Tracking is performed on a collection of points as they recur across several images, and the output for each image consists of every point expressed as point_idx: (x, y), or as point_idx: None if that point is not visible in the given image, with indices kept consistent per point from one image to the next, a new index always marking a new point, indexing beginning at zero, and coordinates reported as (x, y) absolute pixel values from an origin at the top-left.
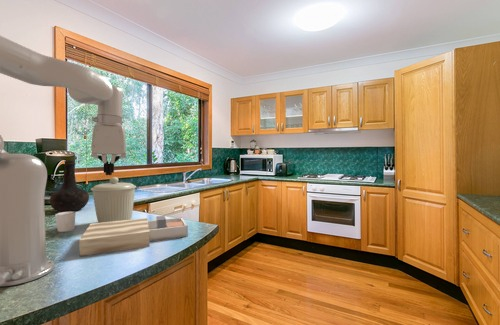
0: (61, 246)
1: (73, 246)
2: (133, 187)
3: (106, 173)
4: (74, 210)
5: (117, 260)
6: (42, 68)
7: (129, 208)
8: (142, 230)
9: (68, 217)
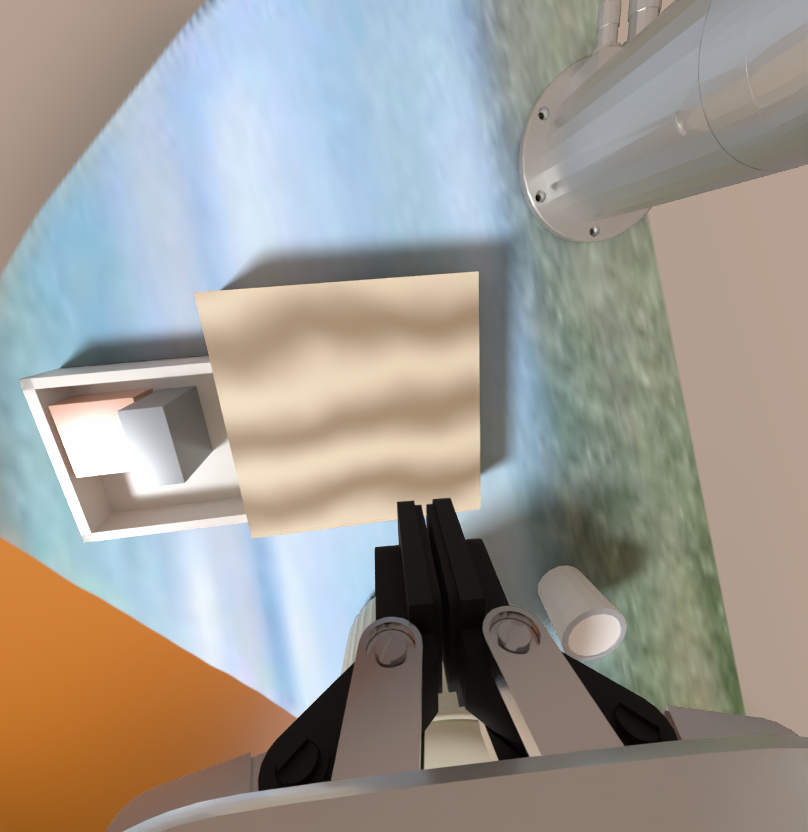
0: (539, 404)
1: (502, 391)
2: None
3: (442, 503)
4: None
5: (318, 168)
6: None
7: (350, 658)
8: (232, 325)
9: (574, 605)
